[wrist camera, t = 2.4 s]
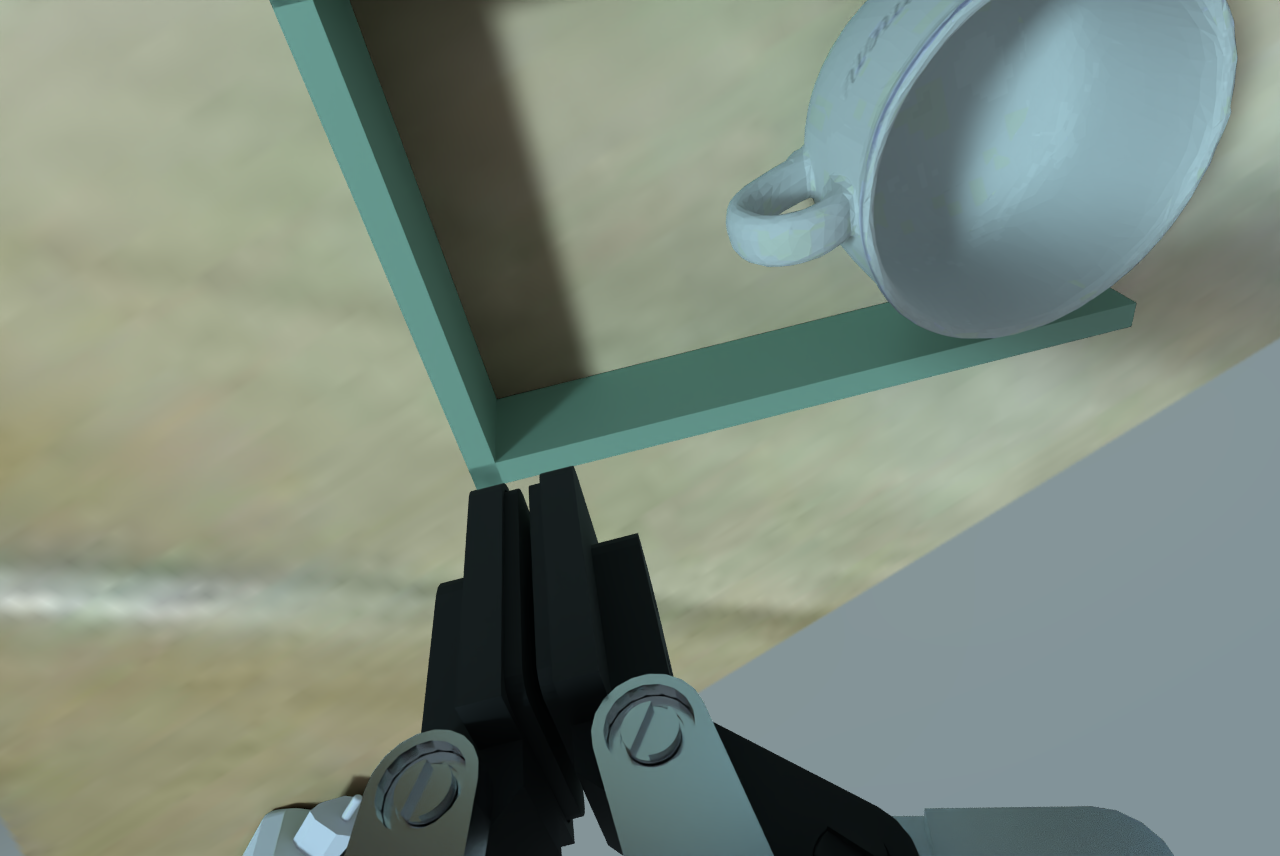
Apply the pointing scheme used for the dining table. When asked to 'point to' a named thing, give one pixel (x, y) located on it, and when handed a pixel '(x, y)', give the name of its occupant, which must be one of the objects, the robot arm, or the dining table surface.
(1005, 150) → the teacup
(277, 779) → the dining table surface
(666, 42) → the dining table surface
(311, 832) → the charger
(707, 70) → the dining table surface
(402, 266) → the green u-shaped border
